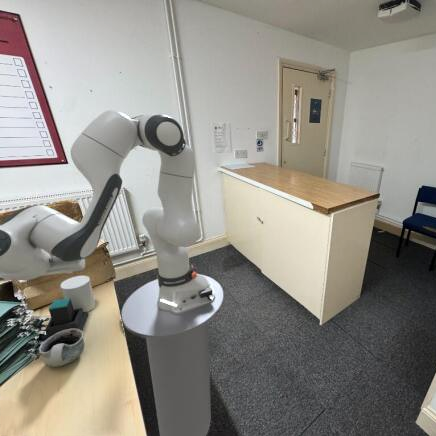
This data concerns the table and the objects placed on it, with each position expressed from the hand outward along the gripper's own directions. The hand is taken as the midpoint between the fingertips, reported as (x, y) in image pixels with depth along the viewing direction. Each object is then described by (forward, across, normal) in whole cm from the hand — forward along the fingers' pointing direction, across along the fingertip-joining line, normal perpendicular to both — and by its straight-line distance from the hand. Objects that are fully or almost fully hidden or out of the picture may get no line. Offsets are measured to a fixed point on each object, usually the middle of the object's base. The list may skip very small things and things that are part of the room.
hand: (50, 273), depth 74 cm
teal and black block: (+15, 0, +15) cm, 21 cm away
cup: (+23, -2, +9) cm, 25 cm away
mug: (+4, -4, +27) cm, 28 cm away
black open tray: (+16, 0, +16) cm, 22 cm away
